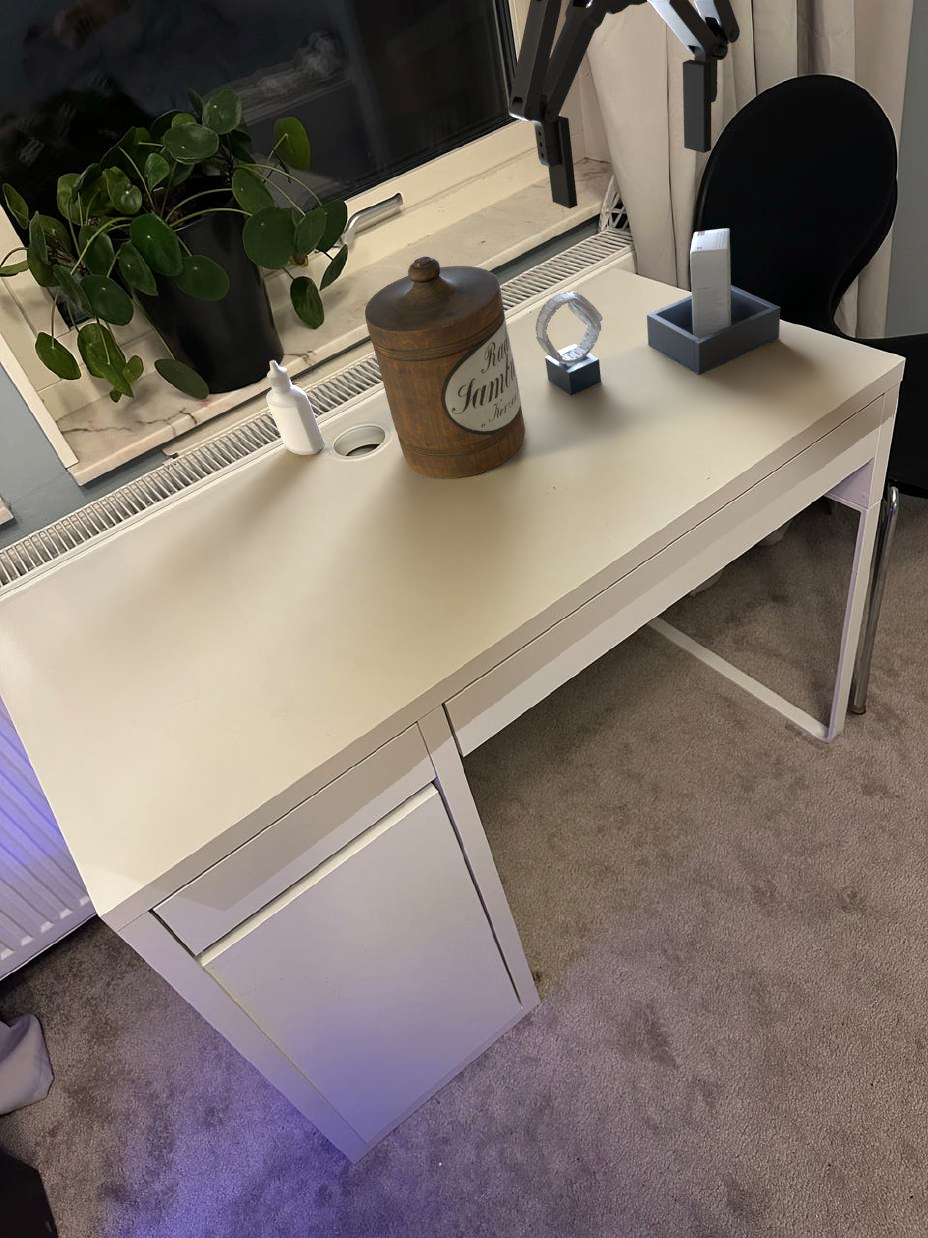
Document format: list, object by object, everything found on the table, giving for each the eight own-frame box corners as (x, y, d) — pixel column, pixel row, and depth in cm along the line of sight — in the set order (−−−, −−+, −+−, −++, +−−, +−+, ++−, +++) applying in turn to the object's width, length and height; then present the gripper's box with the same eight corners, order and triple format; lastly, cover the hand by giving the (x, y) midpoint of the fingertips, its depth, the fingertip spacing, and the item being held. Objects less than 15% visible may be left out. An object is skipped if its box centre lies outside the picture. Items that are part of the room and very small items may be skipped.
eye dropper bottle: (297, 463, 105) (262, 377, 96) (283, 445, 109) (248, 360, 100) (329, 449, 106) (296, 362, 97) (313, 431, 109) (281, 346, 101)
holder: (778, 339, 102) (780, 307, 100) (699, 375, 100) (698, 343, 98) (723, 311, 110) (723, 280, 107) (648, 344, 108) (646, 314, 105)
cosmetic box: (729, 348, 102) (731, 248, 94) (691, 351, 103) (689, 252, 95) (731, 324, 106) (733, 225, 98) (694, 326, 108) (693, 230, 99)
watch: (614, 375, 104) (607, 289, 97) (559, 401, 103) (547, 315, 95) (589, 360, 108) (580, 276, 101) (535, 384, 106) (522, 301, 99)
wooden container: (500, 484, 93) (460, 291, 78) (384, 475, 99) (325, 294, 84) (542, 409, 102) (514, 224, 87) (433, 405, 108) (388, 231, 93)
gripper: (724, -197, 62) (721, 120, 77) (427, -104, 57) (485, 217, 72) (798, -211, 57) (780, 133, 72) (478, -109, 52) (529, 238, 66)
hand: (632, 176), depth 72 cm, fingers open, 13 cm apart
